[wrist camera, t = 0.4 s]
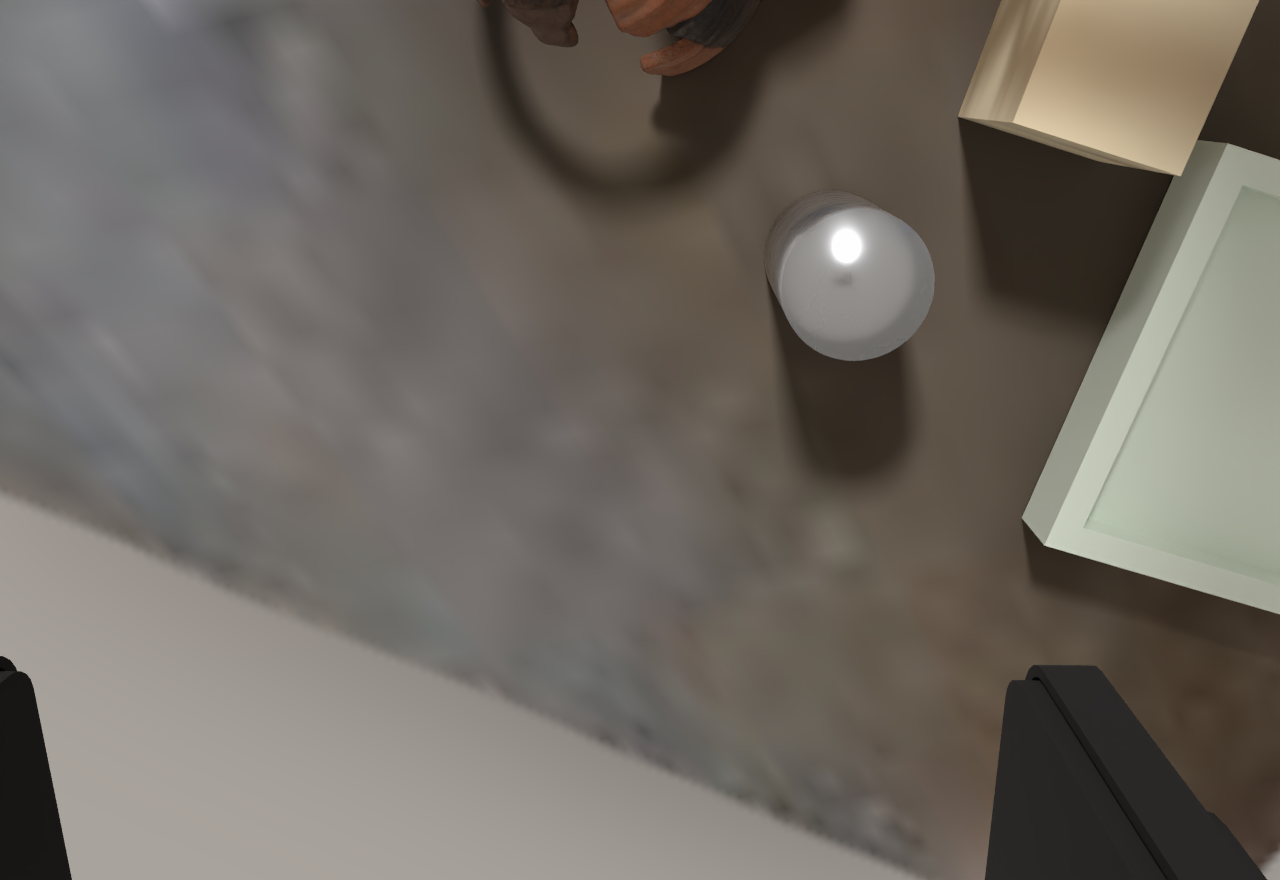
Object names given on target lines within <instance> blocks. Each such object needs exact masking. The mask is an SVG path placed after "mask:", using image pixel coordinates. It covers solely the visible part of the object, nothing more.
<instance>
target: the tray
mask: <svg viewBox="0 0 1280 880" xmlns="http://www.w3.org/2000/svg"><path fill="white" fill-rule="evenodd" d="M1022 519H1023V520H1024V521H1025V522H1026V524H1027V525H1028V526H1029V527H1030V529H1031V530H1032V531H1033V532H1034V534H1035V535H1036V536H1037V537H1038V538H1039V540H1040V541H1041V542H1042V543H1043V545H1044V546H1048V547H1051V548H1054V549H1058V550H1061V551H1065V552H1068V553H1072V554H1075V555H1078V556H1082V557H1085V558H1089V559H1092V560H1095V561H1099V562H1102V563H1106V564H1109V565H1113V566H1116V567H1119V568H1123V569H1126V570H1130V571H1133V572H1137V573H1140V574H1143V575H1147V576H1150V577H1154V578H1157V579H1160V580H1164V581H1167V582H1171V583H1174V584H1178V585H1181V586H1184V587H1188V588H1191V589H1195V590H1198V591H1202V592H1205V593H1208V594H1212V595H1215V596H1219V597H1222V598H1225V599H1229V600H1232V601H1236V602H1239V603H1243V604H1246V605H1249V606H1253V607H1256V608H1260V609H1263V610H1267V611H1270V612H1273V613H1277V614H1280V160H1278V159H1275V158H1272V157H1269V156H1266V155H1263V154H1259V153H1256V152H1253V151H1250V150H1247V149H1244V148H1241V147H1238V146H1235V145H1232V144H1228V143H1221V142H1211V141H1201V140H1197V141H1196V143H1195V145H1194V148H1193V150H1192V152H1191V154H1190V157H1189V159H1188V161H1187V163H1186V165H1185V168H1184V170H1183V172H1182V174H1181V176H1177V175H1174V177H1173V179H1172V181H1171V184H1170V186H1169V188H1168V190H1167V193H1166V195H1165V197H1164V199H1163V202H1162V204H1161V206H1160V208H1159V211H1158V213H1157V215H1156V217H1155V220H1154V222H1153V224H1152V226H1151V229H1150V231H1149V233H1148V235H1147V238H1146V240H1145V242H1144V244H1143V247H1142V249H1141V251H1140V253H1139V256H1138V258H1137V260H1136V262H1135V265H1134V267H1133V269H1132V271H1131V274H1130V276H1129V278H1128V280H1127V283H1126V285H1125V287H1124V289H1123V292H1122V294H1121V296H1120V298H1119V301H1118V303H1117V305H1116V307H1115V310H1114V312H1113V314H1112V316H1111V319H1110V321H1109V323H1108V325H1107V328H1106V330H1105V332H1104V334H1103V337H1102V339H1101V341H1100V343H1099V346H1098V348H1097V350H1096V352H1095V355H1094V357H1093V359H1092V361H1091V364H1090V366H1089V368H1088V370H1087V373H1086V375H1085V377H1084V379H1083V382H1082V384H1081V386H1080V388H1079V390H1078V393H1077V395H1076V397H1075V399H1074V402H1073V404H1072V406H1071V408H1070V411H1069V413H1068V415H1067V417H1066V420H1065V422H1064V424H1063V426H1062V429H1061V431H1060V433H1059V435H1058V438H1057V440H1056V442H1055V444H1054V447H1053V449H1052V451H1051V453H1050V456H1049V458H1048V460H1047V462H1046V465H1045V467H1044V469H1043V471H1042V474H1041V476H1040V478H1039V480H1038V483H1037V485H1036V487H1035V489H1034V492H1033V494H1032V496H1031V498H1030V501H1029V503H1028V505H1027V507H1026V510H1025V512H1024V514H1023V516H1022Z"/></svg>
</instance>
